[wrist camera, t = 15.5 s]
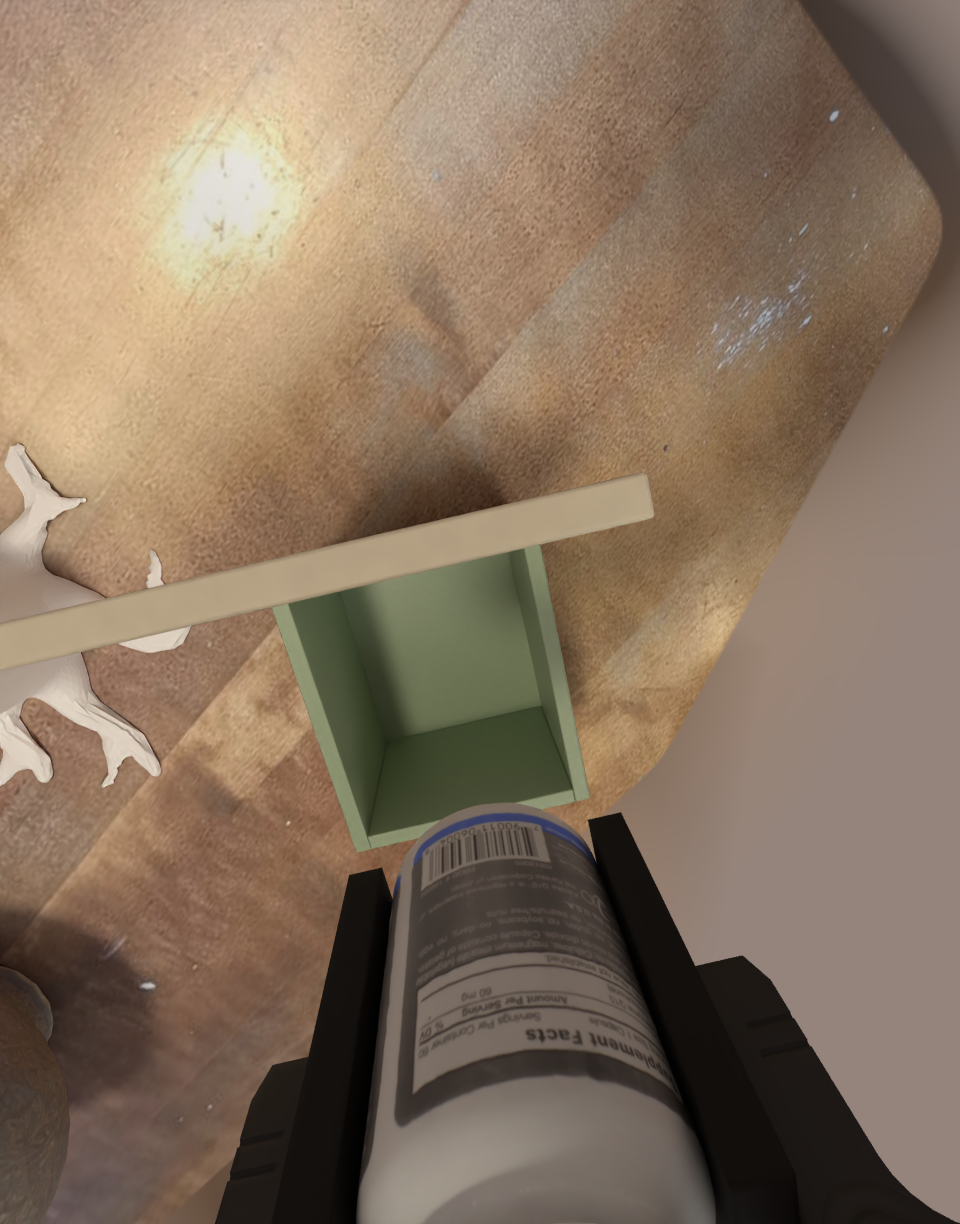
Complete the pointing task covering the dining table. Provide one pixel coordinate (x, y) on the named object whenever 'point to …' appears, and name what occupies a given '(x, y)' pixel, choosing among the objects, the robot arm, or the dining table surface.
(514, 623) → the box
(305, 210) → the dining table surface
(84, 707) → the white tree stump
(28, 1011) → the pot
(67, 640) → the lid
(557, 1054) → the pill bottle
